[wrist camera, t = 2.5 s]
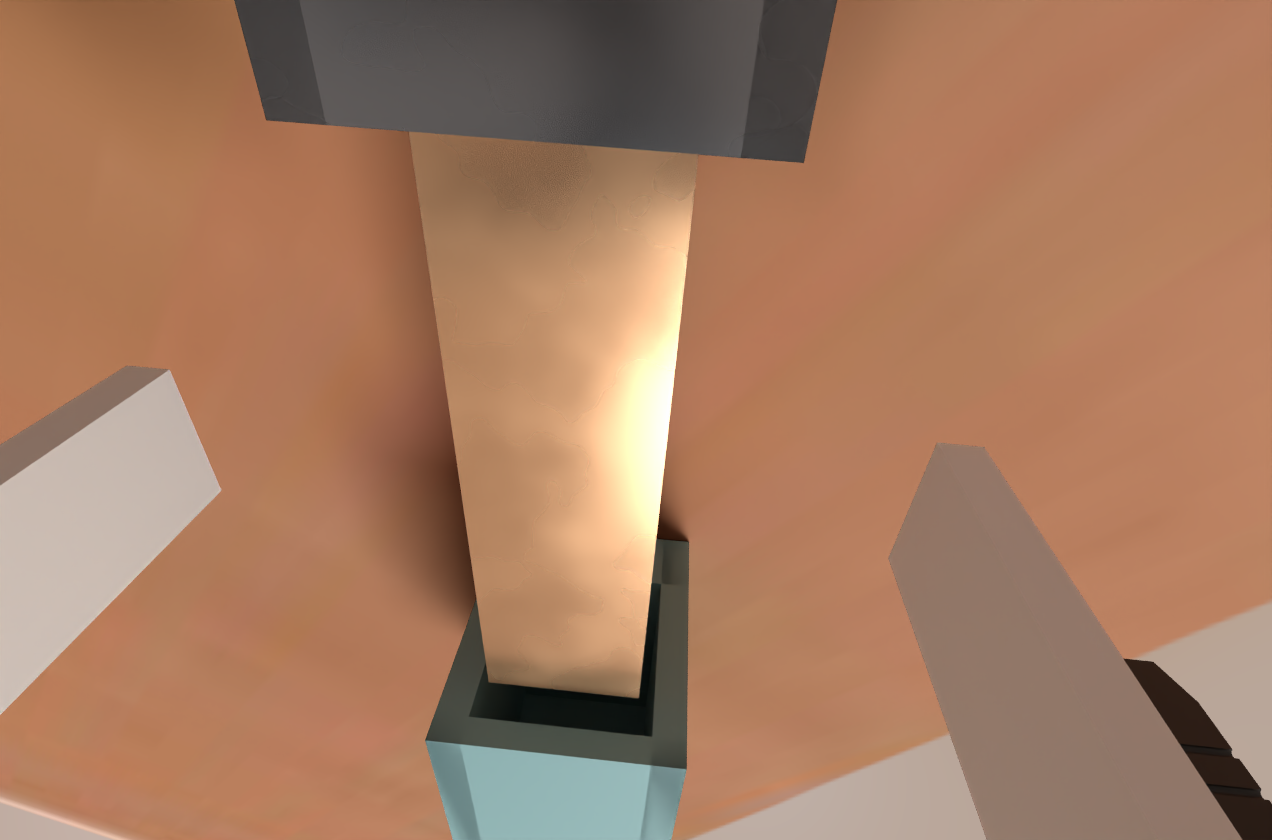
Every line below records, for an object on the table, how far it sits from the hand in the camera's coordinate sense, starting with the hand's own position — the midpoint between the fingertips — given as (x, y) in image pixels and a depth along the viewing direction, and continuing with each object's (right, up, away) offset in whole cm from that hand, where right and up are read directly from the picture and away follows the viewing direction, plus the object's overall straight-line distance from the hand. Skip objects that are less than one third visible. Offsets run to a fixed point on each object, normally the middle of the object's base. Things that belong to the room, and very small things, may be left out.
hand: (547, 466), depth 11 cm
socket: (0, -7, +16) cm, 17 cm away
